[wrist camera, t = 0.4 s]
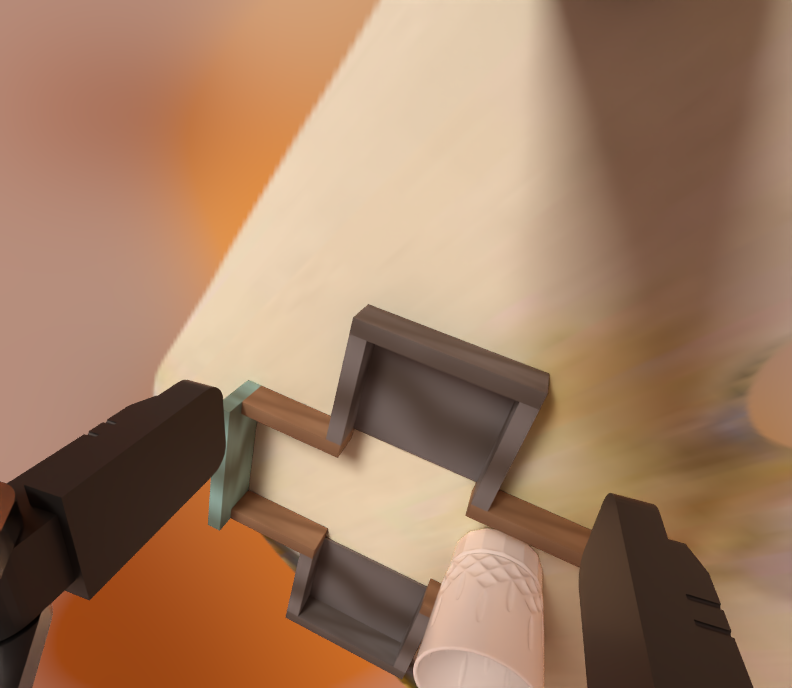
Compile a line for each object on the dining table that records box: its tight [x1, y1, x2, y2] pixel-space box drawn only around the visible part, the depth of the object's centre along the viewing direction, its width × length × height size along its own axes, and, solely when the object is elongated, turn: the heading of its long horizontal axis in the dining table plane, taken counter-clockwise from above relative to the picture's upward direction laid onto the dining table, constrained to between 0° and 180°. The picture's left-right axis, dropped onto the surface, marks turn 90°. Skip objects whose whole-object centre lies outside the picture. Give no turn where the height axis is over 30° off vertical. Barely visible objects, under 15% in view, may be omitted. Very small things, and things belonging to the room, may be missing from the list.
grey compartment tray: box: [208, 304, 592, 679], centre depth 36 cm, size 34×30×4 cm
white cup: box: [413, 528, 544, 688], centre depth 32 cm, size 8×8×10 cm
